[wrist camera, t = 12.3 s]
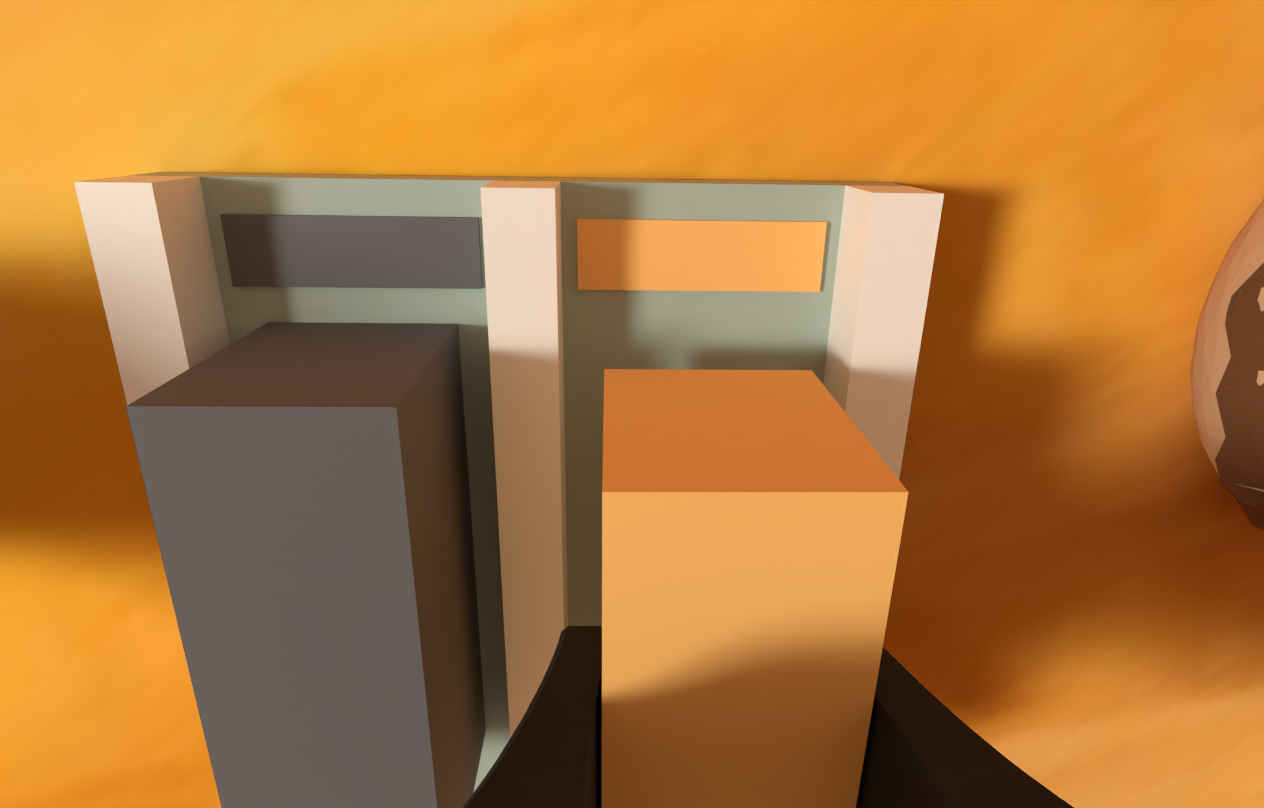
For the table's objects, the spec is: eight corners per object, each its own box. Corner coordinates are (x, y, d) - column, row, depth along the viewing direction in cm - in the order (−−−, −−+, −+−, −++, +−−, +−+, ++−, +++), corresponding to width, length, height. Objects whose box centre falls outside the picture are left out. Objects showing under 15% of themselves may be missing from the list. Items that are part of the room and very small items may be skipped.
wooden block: (765, 797, 17) (818, 1028, 12) (602, 800, 16) (600, 1034, 12) (811, 370, 13) (908, 492, 9) (604, 369, 13) (602, 491, 9)
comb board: (812, 772, 20) (839, 858, 18) (282, 779, 20) (237, 868, 17) (891, 182, 15) (944, 193, 12) (161, 172, 14) (74, 181, 12)
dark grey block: (485, 730, 18) (448, 916, 14) (334, 731, 18) (248, 920, 14) (458, 323, 14) (396, 407, 10) (268, 322, 14) (125, 406, 10)
